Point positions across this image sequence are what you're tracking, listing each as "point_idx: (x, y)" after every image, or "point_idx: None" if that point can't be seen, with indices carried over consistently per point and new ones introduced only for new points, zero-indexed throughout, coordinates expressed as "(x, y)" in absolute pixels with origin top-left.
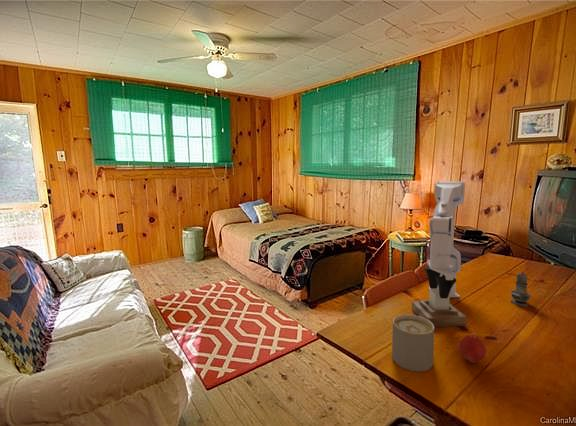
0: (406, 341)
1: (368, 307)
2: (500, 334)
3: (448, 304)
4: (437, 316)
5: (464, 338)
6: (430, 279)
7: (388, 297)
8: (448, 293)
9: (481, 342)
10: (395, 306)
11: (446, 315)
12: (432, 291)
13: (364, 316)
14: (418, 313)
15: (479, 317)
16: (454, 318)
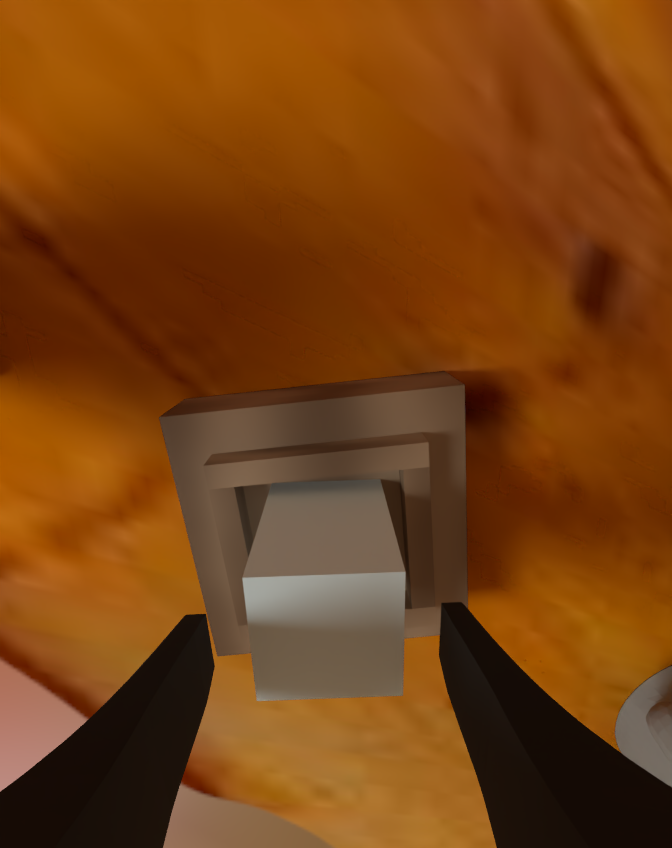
0: None
1: (230, 795)
2: (569, 184)
3: (389, 516)
4: (445, 575)
5: None
6: (170, 787)
7: (70, 692)
8: (492, 645)
9: None
10: None
11: (434, 515)
12: (324, 696)
13: (332, 819)
14: None
15: (317, 203)
16: (463, 471)
